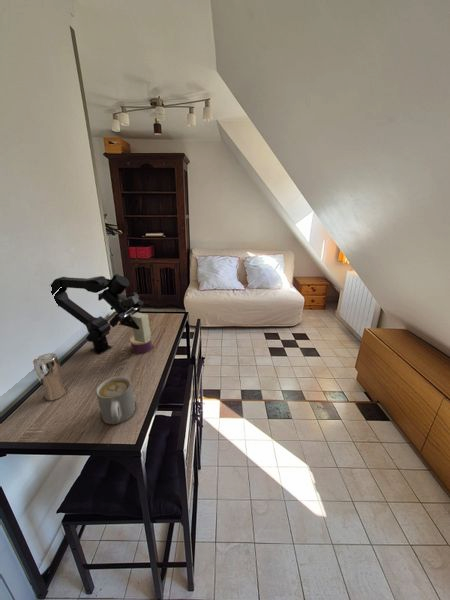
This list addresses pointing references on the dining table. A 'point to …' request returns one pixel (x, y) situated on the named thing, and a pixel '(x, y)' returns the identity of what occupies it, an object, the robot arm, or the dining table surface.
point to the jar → (140, 346)
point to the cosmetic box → (141, 327)
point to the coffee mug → (116, 400)
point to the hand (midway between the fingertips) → (141, 326)
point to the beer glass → (49, 375)
